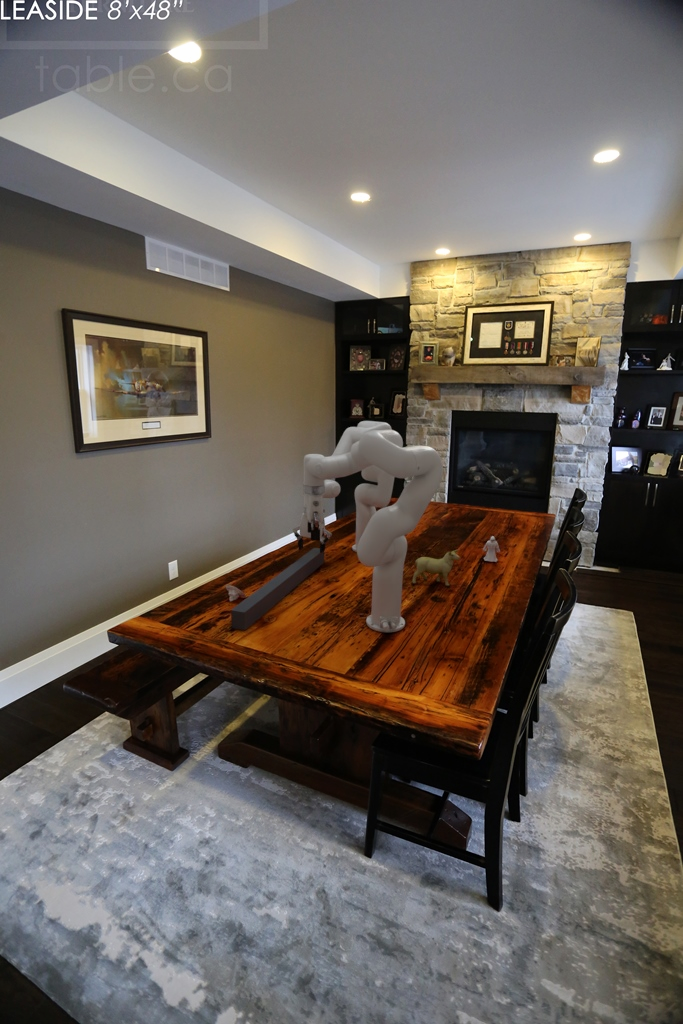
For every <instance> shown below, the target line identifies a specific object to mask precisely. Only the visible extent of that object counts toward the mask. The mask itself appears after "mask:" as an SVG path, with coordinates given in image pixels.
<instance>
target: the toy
mask: <svg viewBox="0 0 683 1024" xmlns="http://www.w3.org/2000/svg"><path fill="white" fill-rule="evenodd" d="M457 552H459V549H455V550H452V551H447V552H446V553H445V554H444V556H443V557H442V558H433V557H428V556H421V557H418V558H417V559H416V560H415V567H416V571H414V572H413V577H412V582H411V583H412V584H413V585H417V581H416V580H417V578H418V576H419V575H420V576H421V577H422V578H423V580H424V581H427V580H428V577H427V575H426V574H425V573H428V574H431V575H437V577H436V580H435V581H436V582H437V583H441V580H440V579H441V577H442V578H443V580H444V584H445V587H448V588H449V587H451V585H450V583H449V582H448V575H449V574H450V572H451V571H452V568H453V566H454V561H460V560H461V556H459V555H458V554H457Z"/></svg>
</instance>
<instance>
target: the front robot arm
mask: <svg viewBox="0 0 683 1024" xmlns="http://www.w3.org/2000/svg"><path fill="white" fill-rule="evenodd" d="M371 465H375V466H377V467H378V468H380V469H382V470H383V471H385V472H386V473H388V474H390V475H392V476H394V478H397V479H408V478H411V480H410V481H409V482H408V483H407V484H406V485H405V487H404V488H403V490H402V492H401V493H400V495H399V497H398V498H397V500H396V502H394V503H393V504H392V505H387V506H386V507H384V508H380V509H378V510H376V513H375V514H374V515H373V516H372V517H371V519H370V521H369V523H368V525H367V527H366V529H365V530H364V532H363V534H362V536H361V538H360V540H359V543H358V546H357V552H356V554H357V555H356V556H357V558H358V560H359V562H360V563H361V564H362V565H363V566H364V567H368V568H373V569H372V585H371V586H372V587H371V607H370V609H371V613H370V615H368V616H367V617H366V621H365V622H366V623H365V624H366V625H367V627H368V628H369V629H372V630H373V631H376V632H379V633H396V632H398V631H402V630H403V629H404V628H405V626H406V620H405V618H403V617H402V615H401V614H402V599H403V598H402V597H403V580H404V567H405V562H406V557H407V553H408V541H407V537H406V535H408V534H410V533H412V532H413V531H414V530H415V529H416V528H417V526H418V524H419V523H420V520H421V519H422V517H423V516H424V514H425V512H426V510H427V508H428V506H429V504H430V502H431V501H432V499H433V498H434V496H435V495H436V493H437V491H438V489H439V488H440V485H441V484H442V480H443V476H444V465H443V461H442V457H441V455H440V454H439V452H438V451H437V450H436V449H435V448H433V447H431V446H429V445H411V446H404V441H403V437H402V436H401V434H400V433H399V432H398V431H396V430H394V429H392V430H374V431H369V432H367V433H365V434H364V435H363V436H362V437H361V438H360V441H358V442H356V443H354V444H353V445H352V447H351V452H348V453H346V454H343V455H336V456H332V455H329V456H325V455H323V454H320V453H307V454H305V455H304V457H303V484H302V485H303V491H302V493H303V495H304V494H305V495H307V518H308V533H311V538H310V541H311V542H320V524H319V521H320V522H321V523H323V514H324V513H323V509H324V502H323V501H324V500H323V499H324V498H322V495H324V494H325V480H327V479H328V480H333V479H338V478H345V477H348V476H351V475H354V474H356V473H358V472H362V470H363V469H365V468H366V467H368V466H371Z"/></svg>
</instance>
